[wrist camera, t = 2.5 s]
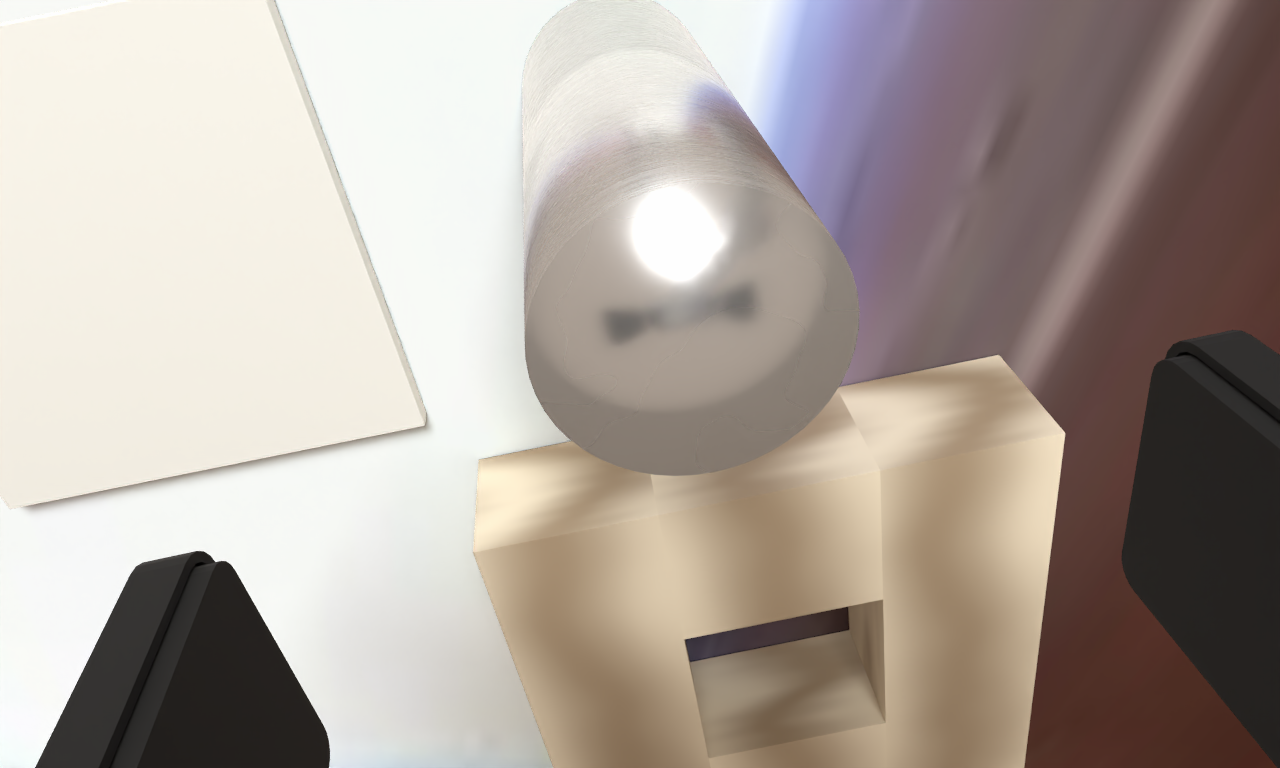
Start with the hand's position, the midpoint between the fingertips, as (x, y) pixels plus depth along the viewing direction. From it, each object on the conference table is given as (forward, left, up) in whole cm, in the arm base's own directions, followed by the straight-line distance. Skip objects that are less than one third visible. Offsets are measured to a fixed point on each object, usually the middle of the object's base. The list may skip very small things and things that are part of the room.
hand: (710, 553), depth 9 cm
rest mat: (+13, +2, -15) cm, 20 cm away
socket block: (-2, +18, -15) cm, 23 cm away
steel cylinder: (0, 0, -15) cm, 15 cm away
